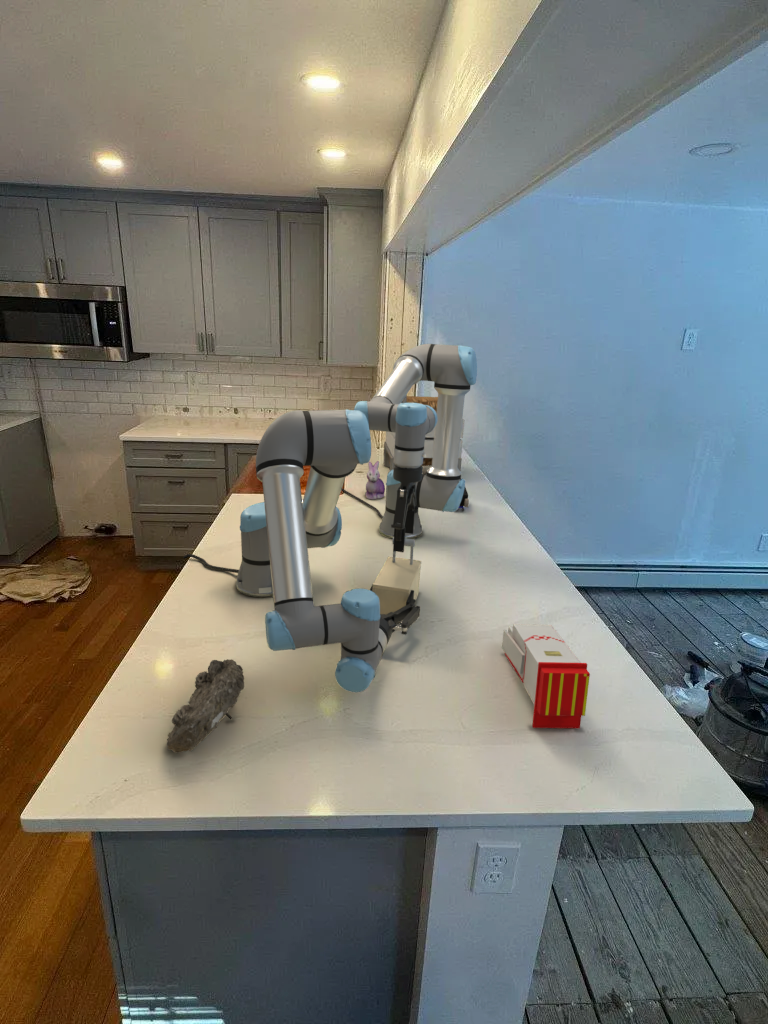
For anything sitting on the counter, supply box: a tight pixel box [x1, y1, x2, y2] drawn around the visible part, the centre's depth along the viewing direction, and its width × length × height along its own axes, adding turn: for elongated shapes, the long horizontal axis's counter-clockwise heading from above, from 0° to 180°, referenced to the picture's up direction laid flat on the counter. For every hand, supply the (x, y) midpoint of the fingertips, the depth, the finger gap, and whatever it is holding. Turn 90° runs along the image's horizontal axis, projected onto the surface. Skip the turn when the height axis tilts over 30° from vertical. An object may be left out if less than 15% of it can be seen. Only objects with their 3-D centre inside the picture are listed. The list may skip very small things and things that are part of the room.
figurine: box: [364, 460, 386, 500], centre depth 235 cm, size 9×10×15 cm
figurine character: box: [455, 486, 470, 512], centre depth 229 cm, size 7×8×15 cm
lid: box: [372, 537, 422, 592], centre depth 148 cm, size 18×9×8 cm, turn 167°
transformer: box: [383, 395, 465, 473], centre depth 268 cm, size 34×33×41 cm
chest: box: [372, 564, 422, 621], centre depth 151 cm, size 17×9×9 cm, turn 167°
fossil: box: [166, 658, 245, 754], centre depth 106 cm, size 22×10×15 cm
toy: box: [501, 623, 591, 729], centre depth 120 cm, size 12×13×30 cm
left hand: (392, 592), depth 145 cm, fingers closed on chest, 9 cm apart
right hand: (403, 541), depth 152 cm, fingers open, 13 cm apart
